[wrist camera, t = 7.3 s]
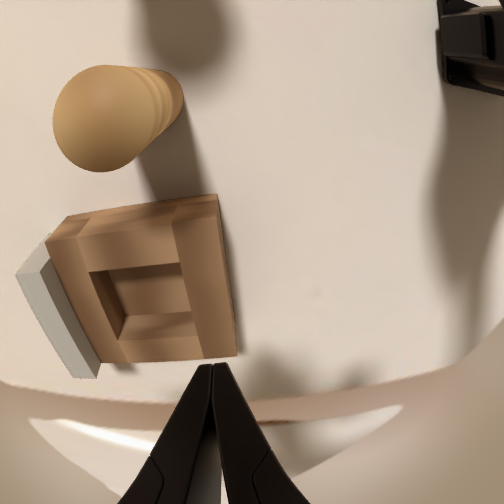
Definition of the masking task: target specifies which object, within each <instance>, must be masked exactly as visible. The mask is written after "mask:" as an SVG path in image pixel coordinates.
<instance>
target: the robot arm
mask: <svg viewBox="0 0 504 504" xmlns="http://www.w3.org/2000/svg"><path fill="white" fill-rule="evenodd" d="M446 2H447V3H446ZM446 2H445V1H444V0H438V6H439V15H440V27H441V41H442V59H443V79H444V81H445V82H446V83H447V84H450V85H455V86H461V87H465V88H470V89H475V90H479V91H484V92H488V93H492V94H496V95H500V96H504V0H499V2H500V4H501V6H485V7H480V6H477V5H475V4H472V3H470V2H467V1H465V0H446ZM450 75H451V80H450V78H449V76H450ZM502 90H503V91H502ZM222 470H223V476H224V481H225V487H226V492H227V497H228V502H229V504H310V503H309V502H308V500H307V499H306V498H305V497H304V496H303V494H302V493H301V492H300V491H299V490H298V489H297V487H296V486H295V485H294V483H293V482H292V481H291V479H290V478H289V477H288V475H287V474H286V472H285V471H284V469H283V468H282V466H281V464H280V463H279V461H278V459H277V458H276V456H275V454H274V452H273V450H271V447H270V445H269V443H268V441H267V440H266V438H265V436H264V434H263V432H262V430H261V428H260V427H259V425H258V423H257V421H256V419H255V417H254V415H253V413H252V411H251V409H250V408H249V406H248V404H247V402H246V400H245V398H244V396H243V394H242V392H241V390H240V388H239V386H238V384H237V382H236V380H235V378H234V376H233V374H232V372H231V370H230V368H229V365H228V364H227V363H226V362H222V363H215V364H214V365H213V364H202V365H199V366H198V368H197V370H196V371H195V373H194V375H193V377H192V379H191V381H190V382H189V384H188V386H187V388H186V390H185V392H184V393H183V395H182V397H181V399H180V401H179V402H178V404H177V406H176V408H175V410H174V411H173V413H172V415H171V417H170V419H169V421H168V422H167V424H166V426H165V428H164V430H163V431H162V433H161V435H160V437H159V439H158V440H157V442H156V444H155V446H154V448H153V449H152V451H151V453H150V456H149V457H148V458H147V460H146V462H145V464H144V465H143V467H142V469H141V470H140V472H139V474H138V475H137V477H136V479H135V480H134V482H133V483H132V484H131V486H130V487H129V489H128V490H127V491H126V493H125V494H124V495H123V497H122V498H121V499H120V501H119V502H118V503H117V504H221V475H222Z"/></svg>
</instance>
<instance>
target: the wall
mask: <svg viewBox="0 0 504 504" xmlns="http://www.w3.org/2000/svg"><path fill="white" fill-rule="evenodd" d="M51 234H52V233H51ZM51 234H48V235H47V236H46V238H45V239H44V240H43V241H42V242H41V243H40V245H39V246H38V247H37V248H36V249H35V250H34V252H33V253H32V254H31V255H30V256H29V258H28V259H27V260H26V261H25V262H24V264H23V265H22V266H21V267H20V269H19V270H18V271H17V273H16V274H15V276H16V278H17V281H18V283H19V285H20V287H21V289H22V291H23V293H24V295H25V297H26V299H27V301H28V303H29V305H30V307H31V309H32V311H33V313H34V314H35V316H36V318H37V320H38V322H39V323H40V325H41V327H42V329H43V331H44V332H45V334H46V336H47V337H48V339H49V341H50V342H51V344H52V346H53V347H54V349H55V351H56V352H57V354H58V356H59V357H60V359H61V360H62V362H63V363H64V365H65V366H66V368H67V369H68V371H69V372H70V374H71V375H72V377H73V378H87V379H96V378H97V375H98V371H99V368H100V365H101V362H100V361H99V359H98V357H97V355H96V353H95V352H94V350H93V348H92V346H91V344H90V342H89V341H88V339H87V337H86V335H85V333H84V331H83V329H82V327H81V325H80V323H79V321H78V319H77V317H76V315H75V313H74V311H73V309H72V307H71V305H70V303H69V300H68V298H67V296H66V294H65V292H64V289H63V287H62V285H61V283H60V280H59V278H58V276H57V273H56V271H55V268H54V266H53V263H52V261H51V258H50V256H49V253H48V251H47V248H46V245H45V243H44V242H45V241H46V240H47V239H48V238H49V236H50V235H51Z"/></svg>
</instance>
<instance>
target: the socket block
mask: <svg viewBox="0 0 504 504" xmlns="http://www.w3.org/2000/svg"><path fill="white" fill-rule="evenodd" d="M44 243H45V245H46V248H47V251H48V253H49V256H50V258H51V261H52V263H53V266H54V268H55V271H56V273H57V276H58V278H59V280H60V283H61V285H62V287H63V289H64V292H65V294H66V296H67V298H68V300H69V303H70V305H71V307H72V309H73V311H74V313H75V315H76V317H77V319H78V321H79V323H80V325H81V327H82V329H83V331H84V333H85V335H86V337H87V339H88V341H89V342H90V344H91V346H92V348H93V350H94V352H95V353H96V355H97V357H98V359H99V361H100V362H101V363H139V362H165V361H183V360H197V359H210V358H222V357H232V356H237V343H236V328H235V318H234V311H233V305H232V298H231V291H230V284H229V277H228V270H227V263H226V256H225V249H224V242H223V235H222V227H221V220H220V212H219V205H218V197H217V194H211V195H203V196H195V197H187V198H179V199H172V200H165V201H157V202H151V203H144V204H137V205H131V206H124V207H118V208H112V209H106V210H100V211H94V212H89V213H83V214H78V215H72V216H67V217H66V218H65V220H64V221H63V222H62V223H61V224H60V225H59V226H58V227H57V228H56V230H55V231H54V232H53V233H52V234H51V235H50V236H49V238H48V239H47V240H46V241H45V242H44Z"/></svg>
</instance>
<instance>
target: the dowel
mask: <svg viewBox="0 0 504 504" xmlns="http://www.w3.org/2000/svg"><path fill="white" fill-rule="evenodd" d="M182 106H183V92H182V89H181V86H180V84H179V83H178V81H177V80H176V79H175V78H174V77H173V76H172V75H170V74H168V73H167V72H164V71H161V70H154V69H145V68H136V67H125V66H112V65H100V66H95V67H91V68H88V69H86V70H84V71H82V72H80V73H78V74H77V75H76V76H74V77H73V78H72V79H71V80H70V81H69V82H68V83H67V84H66V85H65V87H64V88H63V90H62V91H61V93H60V95H59V97H58V99H57V101H56V104H55V108H54V113H53V130H54V135H55V139H56V141H57V144H58V146H59V148H60V149H61V151H62V152H63V154H64V155H65V156H66V157H67V158H68V159H69V160H70V161H71V162H72V163H73V164H75V165H77V166H78V167H80V168H82V169H85V170H88V171H92V172H109V171H113V170H116V169H119V168H121V167H123V166H125V165H127V164H128V163H130V162H131V161H132V160H133V159H134V158H135V157H136V156H138V155H139V154H140V153H141V152H142V151H143V150H144V149H145V148H146V147H147V146H148V145H149V144H150V143H151V142H152V141H153V140H154V139H155V138H156V137H158V136H159V135H160V134H161V133H162V132H163V131H164V130H165V129H166V128H167V127H169V126H170V125H171V124H172V123H173V122H174V121H175V120H176V119H177V117H178V116H179V114H180V112H181V109H182Z"/></svg>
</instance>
